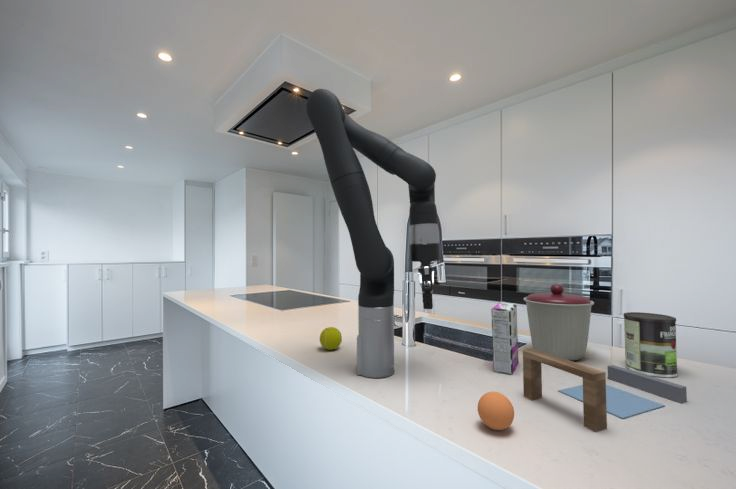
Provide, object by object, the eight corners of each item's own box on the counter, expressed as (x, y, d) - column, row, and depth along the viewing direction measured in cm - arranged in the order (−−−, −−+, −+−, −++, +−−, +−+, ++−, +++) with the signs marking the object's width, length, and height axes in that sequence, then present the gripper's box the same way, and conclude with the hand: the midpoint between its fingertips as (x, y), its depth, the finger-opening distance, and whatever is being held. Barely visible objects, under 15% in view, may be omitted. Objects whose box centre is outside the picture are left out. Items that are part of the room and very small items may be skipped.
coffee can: (686, 374, 81) (684, 317, 81) (664, 380, 77) (662, 321, 77) (638, 361, 90) (637, 310, 91) (616, 367, 86) (614, 313, 87)
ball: (481, 436, 54) (480, 399, 54) (475, 417, 60) (474, 385, 60) (519, 438, 53) (518, 401, 54) (509, 420, 59) (508, 387, 59)
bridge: (595, 432, 55) (593, 374, 55) (523, 396, 69) (522, 350, 69) (607, 428, 56) (605, 372, 57) (534, 393, 70) (533, 348, 70)
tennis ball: (323, 353, 100) (323, 330, 100) (317, 347, 106) (317, 326, 106) (344, 350, 103) (344, 328, 103) (337, 345, 109) (337, 324, 109)
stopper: (681, 403, 65) (680, 388, 65) (607, 378, 78) (607, 366, 78) (686, 401, 66) (686, 386, 66) (613, 377, 79) (612, 365, 79)
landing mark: (622, 419, 59) (622, 418, 59) (558, 391, 71) (557, 390, 71) (664, 406, 64) (664, 405, 64) (597, 382, 76) (597, 381, 76)
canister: (517, 357, 95) (515, 285, 96) (533, 343, 109) (531, 280, 109) (591, 371, 83) (589, 289, 84) (599, 354, 97) (597, 283, 98)
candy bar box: (499, 359, 93) (498, 302, 94) (518, 362, 90) (517, 303, 91) (491, 371, 84) (490, 307, 84) (512, 375, 81) (511, 309, 81)
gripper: (410, 244, 91) (413, 302, 90) (409, 242, 77) (412, 311, 76) (437, 242, 90) (440, 301, 89) (441, 240, 76) (445, 310, 75)
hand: (427, 306), depth 83 cm, fingers open, 8 cm apart
